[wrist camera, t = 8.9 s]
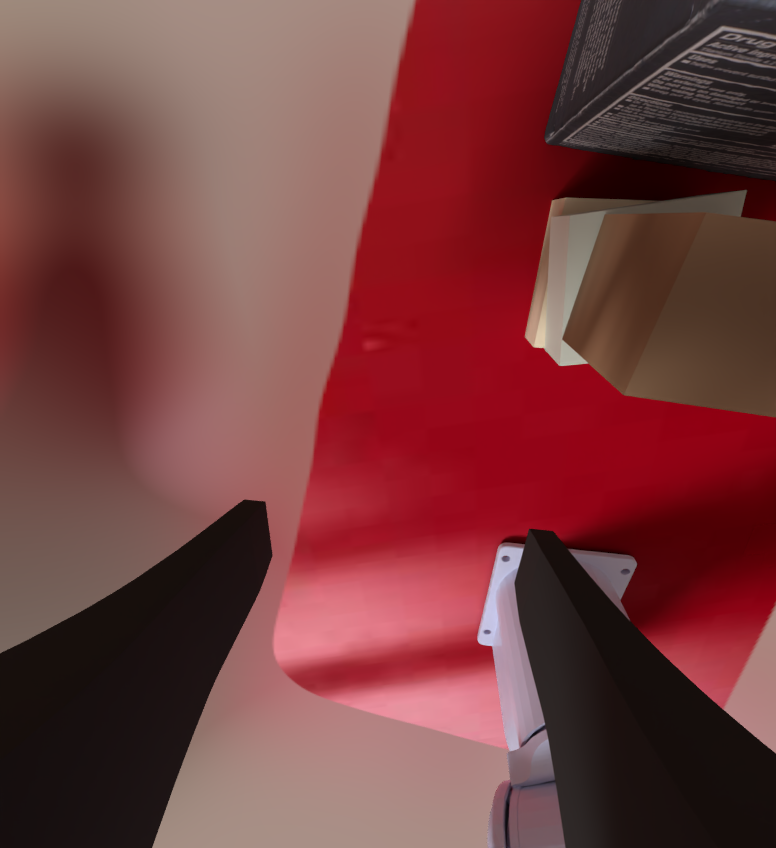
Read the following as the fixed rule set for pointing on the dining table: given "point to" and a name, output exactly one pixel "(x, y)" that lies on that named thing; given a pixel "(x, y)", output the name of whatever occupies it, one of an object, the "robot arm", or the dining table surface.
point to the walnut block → (682, 309)
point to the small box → (672, 84)
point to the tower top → (575, 246)
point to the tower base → (539, 300)
